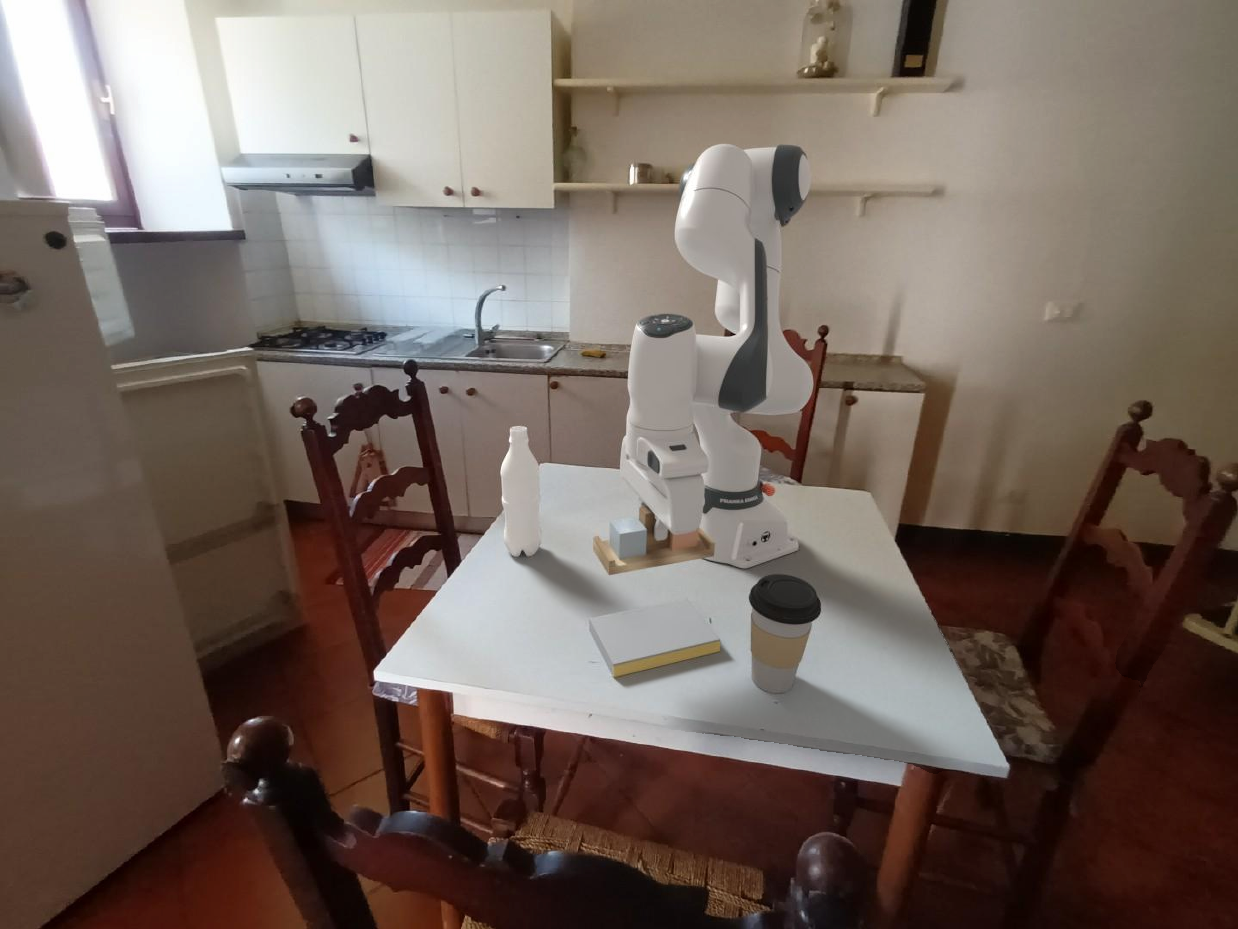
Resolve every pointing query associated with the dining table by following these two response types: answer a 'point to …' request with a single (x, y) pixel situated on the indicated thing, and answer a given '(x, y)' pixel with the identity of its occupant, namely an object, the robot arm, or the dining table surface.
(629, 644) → the dock
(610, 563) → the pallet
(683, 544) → the block
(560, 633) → the dining table surface
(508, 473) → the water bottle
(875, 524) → the dining table surface
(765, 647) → the coffee cup
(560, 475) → the dining table surface
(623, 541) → the block
